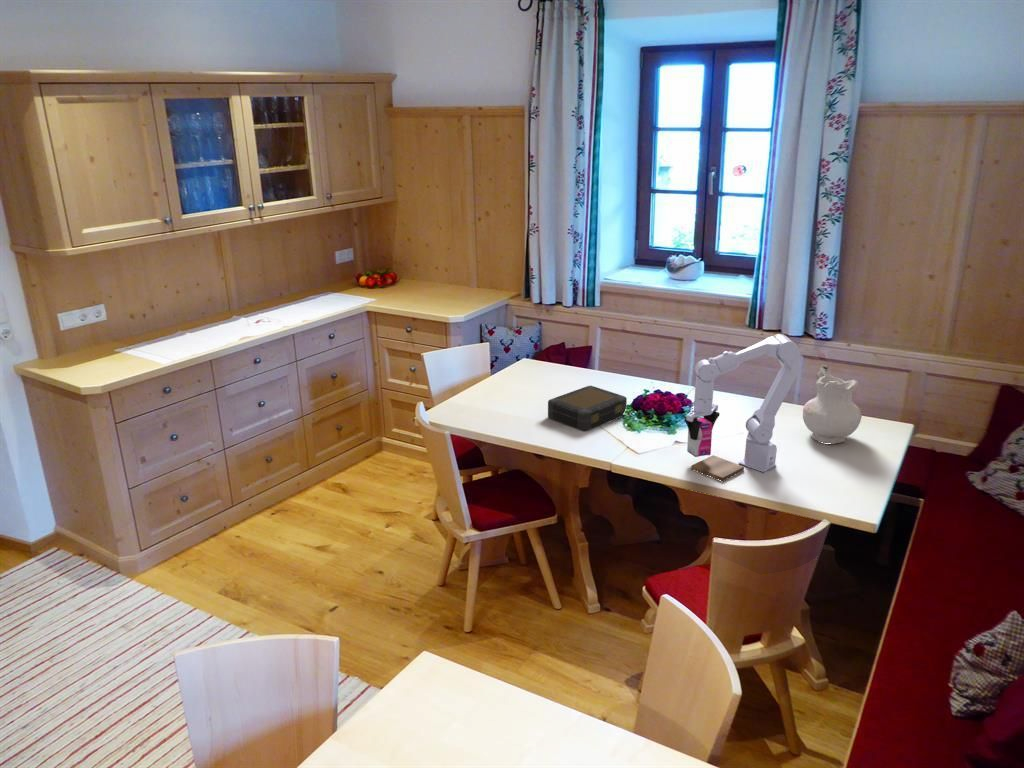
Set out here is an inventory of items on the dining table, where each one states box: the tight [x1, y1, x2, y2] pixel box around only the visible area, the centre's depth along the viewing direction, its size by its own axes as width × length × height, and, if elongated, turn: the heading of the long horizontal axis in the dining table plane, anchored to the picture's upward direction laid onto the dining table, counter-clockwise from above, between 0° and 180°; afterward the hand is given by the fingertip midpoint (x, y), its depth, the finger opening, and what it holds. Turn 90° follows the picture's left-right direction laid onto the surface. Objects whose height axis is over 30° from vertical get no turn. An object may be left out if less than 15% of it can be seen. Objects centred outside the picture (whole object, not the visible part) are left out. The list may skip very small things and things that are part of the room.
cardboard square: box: [690, 454, 745, 482], centre depth 258 cm, size 12×12×2 cm
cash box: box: [547, 385, 628, 432], centre depth 302 cm, size 25×20×8 cm
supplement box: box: [686, 417, 713, 458], centre depth 259 cm, size 6×6×12 cm
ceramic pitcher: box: [802, 363, 863, 445], centre depth 279 cm, size 22×20×25 cm
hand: (700, 435), depth 259 cm, fingers closed on supplement box, 7 cm apart
